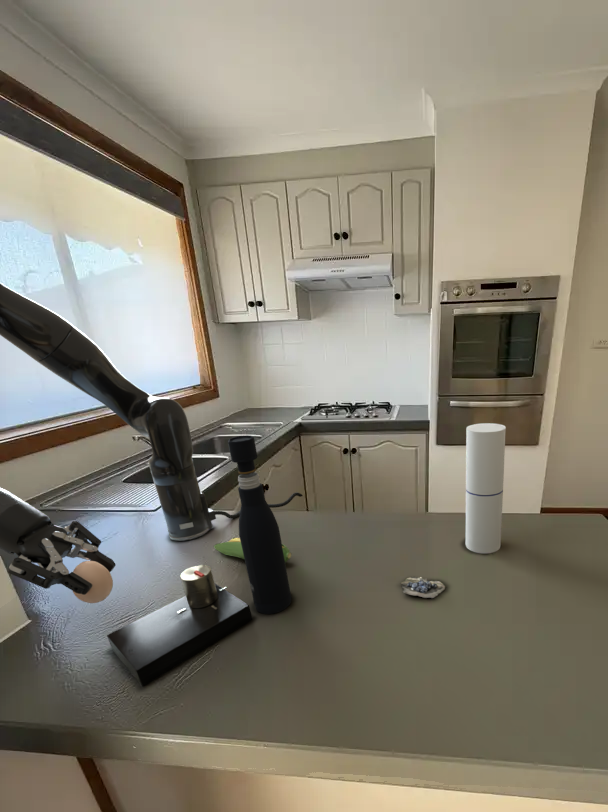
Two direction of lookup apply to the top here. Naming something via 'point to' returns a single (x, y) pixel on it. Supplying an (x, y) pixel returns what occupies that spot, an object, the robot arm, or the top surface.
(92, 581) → the egg
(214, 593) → the stove knob
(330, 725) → the top surface
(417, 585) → the blueberries
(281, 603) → the dark water bottle
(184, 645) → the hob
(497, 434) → the cylindrical container
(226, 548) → the edible corn
